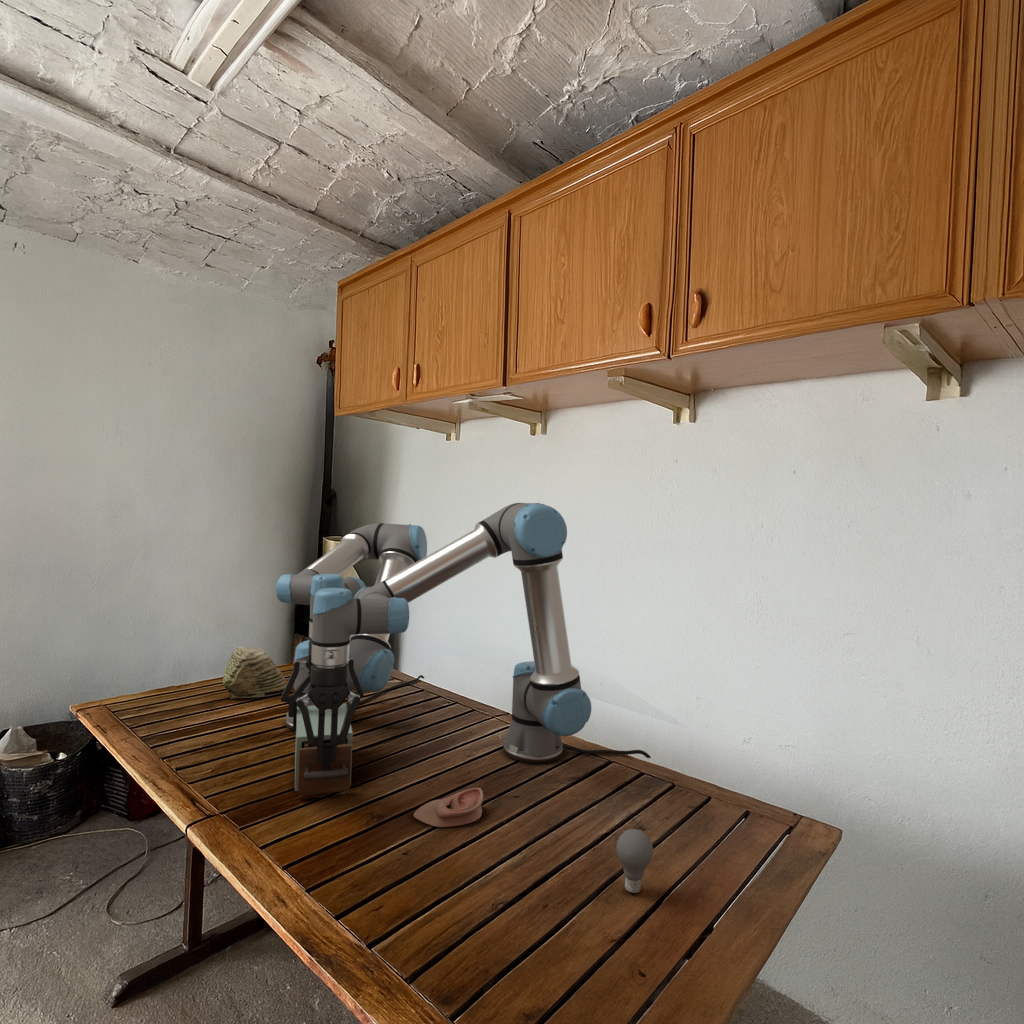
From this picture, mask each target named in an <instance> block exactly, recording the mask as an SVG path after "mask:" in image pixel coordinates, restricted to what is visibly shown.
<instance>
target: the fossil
mask: <svg viewBox="0 0 1024 1024" xmlns="http://www.w3.org/2000/svg"><path fill="white" fill-rule="evenodd" d="M222 676H223V677H222V685H223V687H224V688H225V690H226V691H228V693H229V698H230V699H250V698H264V697H271V696H275V695H281V694H282V693H283V691H284V689H285V687H286V685H287V680H286V678H285V676H284V674H283V673H282V672H281V669H279V668H278V667H277V665H276V663H275V662H274V660H273V659H272V658H271V657H270V656H269V655H268V654H267V653H266V652H265V650H264V649H263V648H260V647H258V648H251V647H247V646H246V647H245V646H238V647H237V648H236V649H235V650H233V651H232V653H231V656H230V657H229V659H228V660H227V663H226V666H225V668H224V671H223V675H222Z"/></svg>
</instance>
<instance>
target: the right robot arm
mask: <svg viewBox="0 0 1024 1024" xmlns="http://www.w3.org/2000/svg"><path fill="white" fill-rule="evenodd" d="M567 538H568V526H567V523H566V520H565V518H564V517H563V515H562V514H561V512H559V511H558V510H557V509H555V508H554V507H552V506H550V505H548V504H547V505H546V504H544V503H540V502H514V503H510V504H509V505H506V506H504V507H503V508H501V509H499V510H498V511H495V512H494V513H493V514H491V515H489V516H487V517H486V518H484V519H482V520H480V521H479V522H477V523H476V524H475V525H474V529H473V530H471V531H469V532H468V533H466V534H464V535H462V536H460V537H459V538H457V539H454V540H453V541H452V542H449V543H447V544H446V545H445V546H442V547H441V548H438V549H437V550H435V551H433V552H431V553H429V554H427V556H426V557H424V558H423V559H421V560H419V561H417V562H416V563H414V564H412V565H410V566H408V567H407V568H405V569H403V570H401V571H399V572H398V573H396V574H394V575H392V576H390V577H389V578H387V579H385V580H384V581H382V582H380V583H378V584H376V585H375V584H374V585H373V586H366V587H364V588H362V589H360V590H359V591H358V592H357V593H356V595H355V596H354V598H352V592H351V591H350V590H349V589H345V588H324V589H320V590H318V591H317V592H316V593H315V597H314V608H313V629H312V655H311V662H312V663H313V665H312V666H311V680H310V687H309V689H308V692H307V694H305V695H304V696H302V697H298V698H297V702H296V703H297V706H298V708H299V709H300V710H301V712H302V717H303V721H304V726H305V730H306V735H307V739H308V744H309V745H310V746H316V747H317V762H318V763H322V771H326V770H330V762H334V761H335V760H336V748H337V745H338V744H341V743H345V742H346V738H347V735H348V731H349V728H350V724H351V725H352V721H353V717H354V714H355V713H354V711H355V712H356V708H357V706H358V704H359V702H360V701H361V698H360V696H359V694H354V693H355V692H354V691H353V692H354V693H353V692H351V691H350V687H349V686H348V673H349V665H348V664H347V662H348V661H349V646H350V639H351V635H352V636H353V635H358V634H390V635H393V634H401V633H405V632H406V631H407V630H408V627H409V625H410V624H409V623H410V606H409V604H410V603H411V602H413V601H414V600H416V599H418V598H420V597H421V596H423V595H425V594H427V593H429V592H430V591H432V590H433V589H436V588H437V587H439V586H441V585H443V584H444V583H446V582H448V581H449V580H451V579H453V578H454V577H457V576H458V575H460V574H461V573H463V572H465V571H467V570H469V569H470V568H472V567H473V566H475V565H477V564H479V563H481V562H482V561H484V560H486V559H487V558H492V559H493V558H494V559H496V558H498V557H499V556H501V555H503V554H506V553H510V552H511V559H512V565H513V566H514V567H515V568H516V569H517V570H519V572H520V573H521V575H520V576H521V581H522V588H523V595H524V601H525V609H526V615H527V621H528V628H529V629H528V630H529V635H530V642H531V648H532V649H531V650H532V656H533V660H530V661H521V662H518V663H516V664H515V666H514V668H513V675H512V703H511V721H510V724H509V726H508V730H507V732H506V735H505V738H504V741H503V744H502V745H503V747H502V751H503V753H504V755H505V756H506V757H508V758H510V759H512V760H515V761H516V762H521V763H527V764H548V763H553V762H555V761H557V760H559V759H561V758H562V757H563V755H564V754H563V752H564V750H568V751H572V752H576V753H579V754H585V755H598V754H599V755H604V754H605V755H621V756H622V755H623V756H628V755H629V756H630V755H638V754H639V755H642V756H644V757H645V758H647V759H651V758H652V757H651V755H650V754H649V753H648V752H646V751H645V750H641V749H632V750H630V749H629V750H616V749H613V750H612V749H582V748H579V747H575V746H570V745H566V744H563V741H562V738H561V737H570V736H574V735H575V734H577V733H579V732H580V731H581V730H582V729H583V728H584V727H585V726H586V724H587V723H588V722H589V720H590V718H591V716H592V715H591V714H592V709H593V707H592V701H591V698H590V697H589V696H588V694H587V692H585V690H583V689H582V684H581V682H582V681H581V676H580V670H579V669H578V668H577V667H576V666H575V665H573V664H572V659H571V652H570V645H569V638H568V630H567V623H566V617H565V608H564V602H563V595H562V588H561V587H562V586H561V581H560V580H561V579H560V573H559V565H560V564H561V562H563V561H562V560H563V559H564V555H563V547H564V545H565V544H566V541H567ZM347 698H348V703H349V704H348V707H347V711H346V714H345V718H344V721H343V725H342V728H341V732H340V735H339V736H337V725H338V708H339V707H340V706H341V705H342V704H344V702H345V701H347ZM309 699H310V700H311V701H312V702H313V703H314V705H315V706H316V707H317V708H318V709H319V713H318V737H317V738H316V737H314V733H313V729H312V724H311V720H310V715H309V711H308V707H307V706H308V705H309V701H308V700H309ZM359 705H360V704H359ZM327 709H331V735H330V743H324V726H325V710H327ZM322 780H328V779H322Z"/></svg>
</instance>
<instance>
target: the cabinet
mask: <svg viewBox="0 0 1024 1024" xmlns="http://www.w3.org/2000/svg"><path fill="white" fill-rule="evenodd" d="M307 707H308V711H309V715H310V720H311V724H312V729H313V733H314V737H316V738H317V737H318V713H319V709H318V708H317V707H316V706H307ZM346 711H347V703H342V705H341V706H340V707H339V708H338V725H337V736H339V735H340V732H341V728H342V725H343V721H344V718H345V714H346ZM330 735H331V709H327V710H325V726H324V740H330ZM353 739H354V732H353V728H352V723H351V724H350V728H349V731H348V735H347V738H346V744H351V768H352V766H353V765H352V764H353V763H352V762H353ZM305 741H308V739H307V735H306V730H305V726H304V721H303V717H302V712H301V710H300V709H299V708H298V707H297V721H296V732H295V748H294V792H298V778H299V750H300V748H303V742H305ZM351 786H352V770H351V771H350V787H351Z"/></svg>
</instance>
